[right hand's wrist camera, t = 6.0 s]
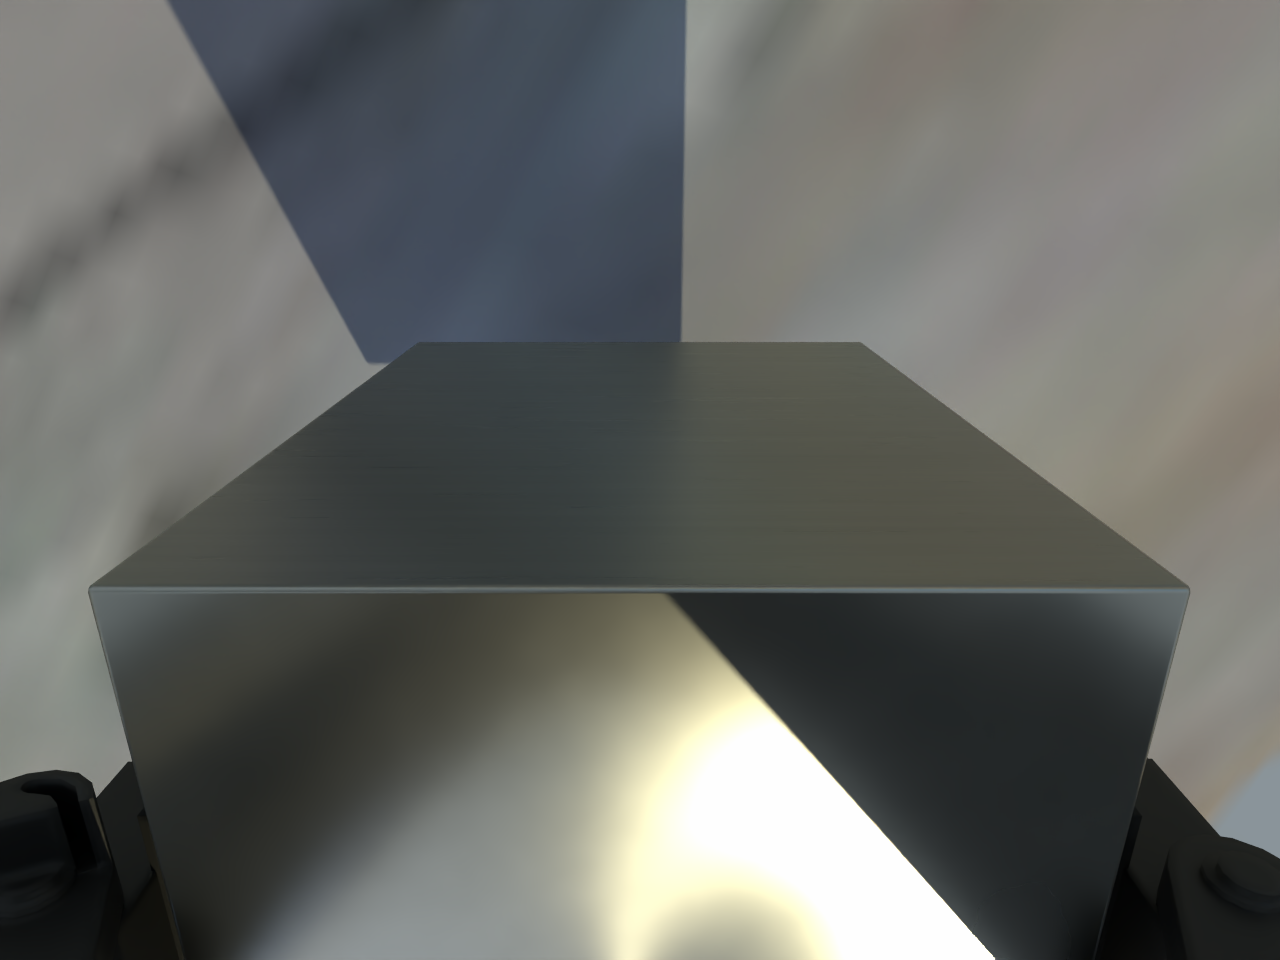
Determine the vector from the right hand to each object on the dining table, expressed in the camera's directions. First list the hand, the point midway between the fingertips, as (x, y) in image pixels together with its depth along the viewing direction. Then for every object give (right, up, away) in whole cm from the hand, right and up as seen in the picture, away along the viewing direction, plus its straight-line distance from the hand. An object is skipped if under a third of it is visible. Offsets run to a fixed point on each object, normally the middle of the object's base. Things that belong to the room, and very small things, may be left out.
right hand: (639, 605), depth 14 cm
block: (0, +1, +2) cm, 2 cm away
